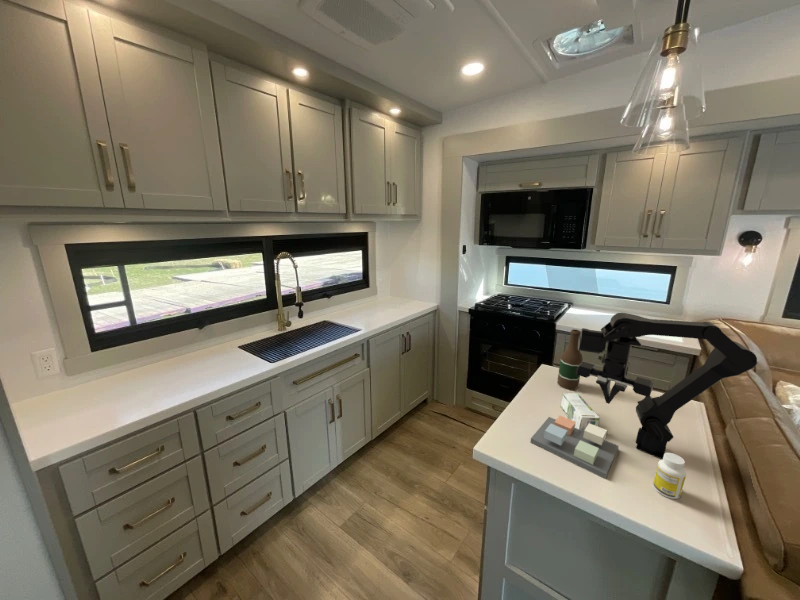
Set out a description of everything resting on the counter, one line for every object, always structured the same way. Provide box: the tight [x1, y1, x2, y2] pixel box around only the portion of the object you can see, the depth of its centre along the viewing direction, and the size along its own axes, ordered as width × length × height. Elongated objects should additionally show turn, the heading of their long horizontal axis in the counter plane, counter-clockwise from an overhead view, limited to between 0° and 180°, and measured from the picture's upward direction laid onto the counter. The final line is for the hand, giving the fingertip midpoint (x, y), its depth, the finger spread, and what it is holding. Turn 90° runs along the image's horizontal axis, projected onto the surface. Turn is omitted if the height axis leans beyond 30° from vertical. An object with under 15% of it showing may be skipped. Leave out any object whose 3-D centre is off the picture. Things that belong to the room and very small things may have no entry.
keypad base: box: [529, 416, 619, 479], centre depth 96 cm, size 20×15×2 cm
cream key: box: [583, 423, 608, 445], centre depth 95 cm, size 5×5×2 cm
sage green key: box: [574, 440, 599, 465], centre depth 90 cm, size 5×5×2 cm
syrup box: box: [560, 392, 600, 431], centre depth 108 cm, size 6×6×14 cm
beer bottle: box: [557, 329, 584, 391], centre depth 128 cm, size 8×8×24 cm
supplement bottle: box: [652, 452, 687, 500], centre depth 79 cm, size 5×5×10 cm
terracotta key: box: [554, 415, 576, 436], centre depth 101 cm, size 5×5×2 cm
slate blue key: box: [544, 424, 567, 446], centre depth 95 cm, size 5×5×2 cm
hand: (607, 402), depth 97 cm, fingers closed
